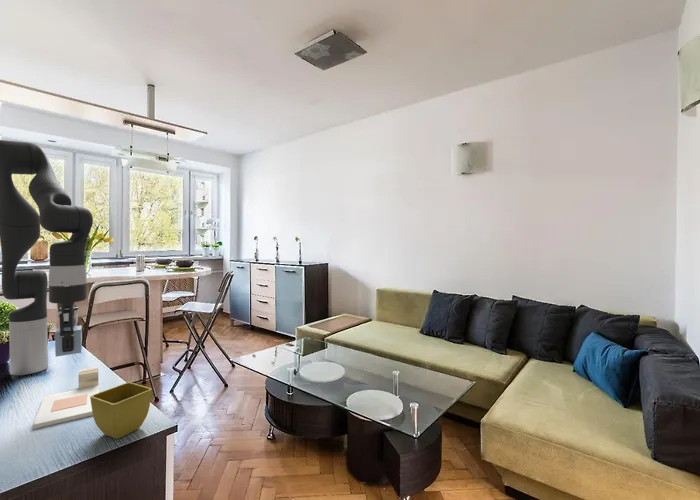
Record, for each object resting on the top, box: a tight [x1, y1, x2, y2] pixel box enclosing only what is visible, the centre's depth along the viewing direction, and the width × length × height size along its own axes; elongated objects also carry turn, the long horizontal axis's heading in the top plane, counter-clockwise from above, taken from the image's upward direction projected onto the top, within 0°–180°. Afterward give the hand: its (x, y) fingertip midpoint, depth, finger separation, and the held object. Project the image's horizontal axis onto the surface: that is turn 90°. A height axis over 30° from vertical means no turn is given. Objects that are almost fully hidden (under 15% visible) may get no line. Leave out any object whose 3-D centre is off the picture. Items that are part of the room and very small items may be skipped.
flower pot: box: [90, 381, 153, 440], centre depth 77 cm, size 9×9×9 cm
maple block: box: [78, 366, 99, 389], centre depth 101 cm, size 4×4×5 cm
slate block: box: [54, 325, 83, 357], centre depth 88 cm, size 5×5×6 cm
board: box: [32, 385, 100, 430], centre depth 89 cm, size 18×12×1 cm, turn 36°
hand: (69, 348), depth 89 cm, fingers closed on slate block, 5 cm apart
